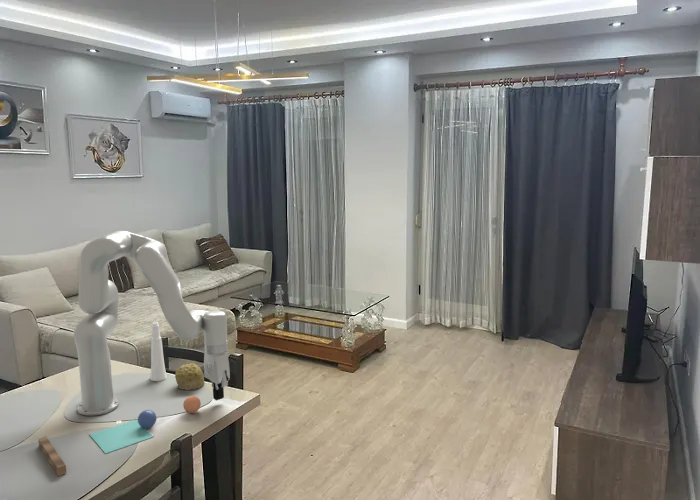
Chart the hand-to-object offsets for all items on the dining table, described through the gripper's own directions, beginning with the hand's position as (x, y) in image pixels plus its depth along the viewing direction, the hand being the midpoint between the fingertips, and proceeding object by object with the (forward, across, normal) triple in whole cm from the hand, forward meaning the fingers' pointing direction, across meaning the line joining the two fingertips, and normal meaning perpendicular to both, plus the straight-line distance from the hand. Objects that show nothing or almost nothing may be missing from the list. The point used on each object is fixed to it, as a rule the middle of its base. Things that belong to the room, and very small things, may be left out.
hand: (218, 398), depth 184 cm
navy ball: (-1, 0, -25) cm, 25 cm away
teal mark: (+2, 0, -33) cm, 33 cm away
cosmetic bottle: (+2, -34, -7) cm, 35 cm away
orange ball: (-1, 0, -10) cm, 10 cm away
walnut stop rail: (+2, 0, -52) cm, 52 cm away
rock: (+2, -20, -1) cm, 20 cm away
